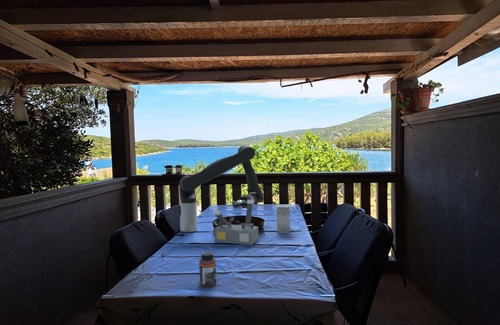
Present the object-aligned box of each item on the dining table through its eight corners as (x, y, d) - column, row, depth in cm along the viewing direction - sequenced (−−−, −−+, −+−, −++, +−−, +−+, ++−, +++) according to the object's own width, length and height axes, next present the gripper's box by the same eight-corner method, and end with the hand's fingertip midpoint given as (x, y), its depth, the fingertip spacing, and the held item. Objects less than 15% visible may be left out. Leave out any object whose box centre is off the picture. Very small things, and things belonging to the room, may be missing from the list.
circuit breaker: (289, 226, 195) (289, 202, 194) (290, 232, 181) (289, 206, 180) (277, 226, 196) (276, 202, 195) (277, 232, 182) (276, 207, 181)
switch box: (214, 241, 167) (214, 223, 167) (223, 236, 176) (222, 219, 176) (251, 245, 159) (251, 226, 159) (258, 239, 169) (258, 222, 168)
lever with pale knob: (222, 225, 171) (212, 213, 160) (223, 222, 172) (213, 209, 161) (228, 226, 169) (218, 213, 159) (229, 223, 170) (219, 210, 160)
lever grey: (243, 226, 165) (246, 199, 169) (245, 227, 166) (248, 200, 170) (249, 227, 163) (252, 199, 167) (251, 227, 165) (253, 200, 169)
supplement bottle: (200, 280, 117) (199, 250, 116) (216, 280, 117) (215, 250, 117) (199, 287, 111) (198, 256, 110) (216, 286, 111) (215, 255, 111)
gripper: (236, 194, 200) (224, 199, 184) (256, 195, 195) (245, 199, 179) (237, 206, 200) (224, 211, 184) (256, 207, 195) (245, 213, 179)
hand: (234, 206), depth 181 cm, fingers closed
